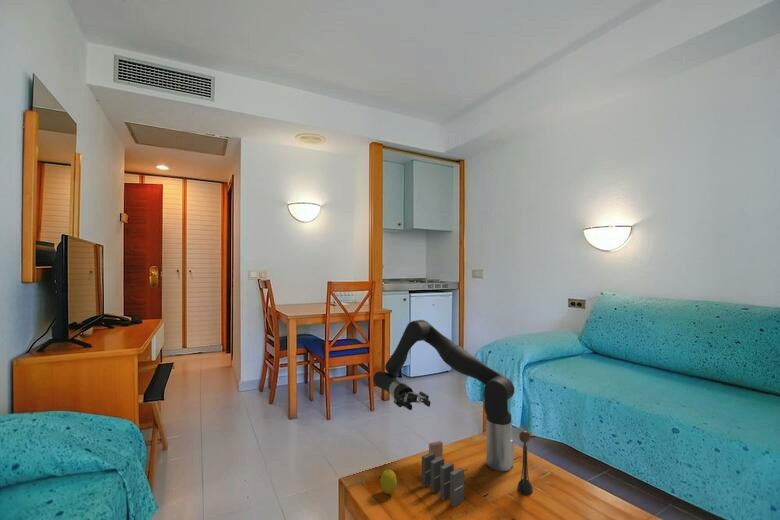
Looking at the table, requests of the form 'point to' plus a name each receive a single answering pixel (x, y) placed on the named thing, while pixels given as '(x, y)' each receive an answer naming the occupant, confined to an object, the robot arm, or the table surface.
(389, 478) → the lemon
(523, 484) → the wooden tabletop sculpture
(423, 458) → the charcoal domino
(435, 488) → the charcoal domino
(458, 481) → the charcoal domino
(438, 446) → the terracotta domino
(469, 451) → the table surface
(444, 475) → the charcoal domino
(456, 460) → the table surface
